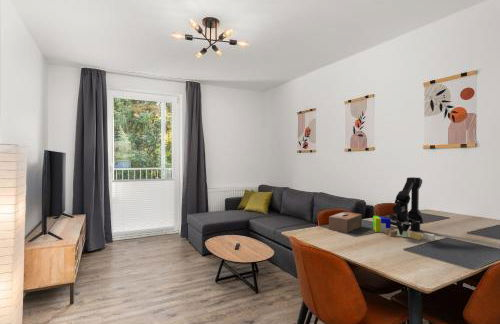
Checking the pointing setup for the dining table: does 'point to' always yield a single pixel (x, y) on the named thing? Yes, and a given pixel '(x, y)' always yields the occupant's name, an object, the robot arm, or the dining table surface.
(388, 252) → the dining table surface
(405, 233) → the sage brick
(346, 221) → the tissue box cover
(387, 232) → the walnut brick
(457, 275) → the dining table surface
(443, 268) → the dining table surface
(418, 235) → the mustard brick
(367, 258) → the dining table surface
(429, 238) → the grey brick
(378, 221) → the puzzle toy
